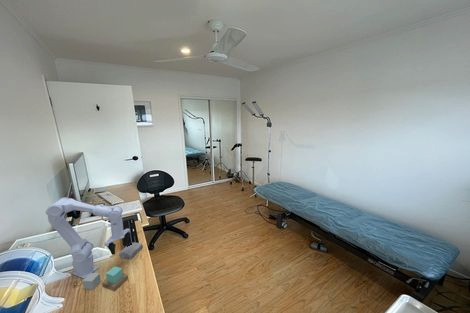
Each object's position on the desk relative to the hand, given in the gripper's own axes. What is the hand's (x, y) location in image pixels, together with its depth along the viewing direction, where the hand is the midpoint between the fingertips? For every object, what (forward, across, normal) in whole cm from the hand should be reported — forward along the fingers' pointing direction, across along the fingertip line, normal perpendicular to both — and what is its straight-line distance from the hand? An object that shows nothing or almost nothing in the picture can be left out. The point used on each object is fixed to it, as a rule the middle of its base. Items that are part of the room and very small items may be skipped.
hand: (119, 249), depth 108 cm
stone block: (+11, +10, +4) cm, 16 cm away
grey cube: (+10, -15, +2) cm, 18 cm away
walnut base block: (+11, -10, -8) cm, 17 cm away
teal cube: (+8, -10, -8) cm, 15 cm away
